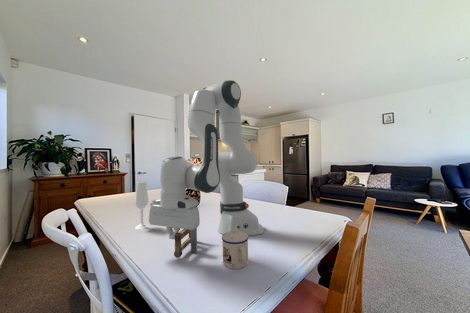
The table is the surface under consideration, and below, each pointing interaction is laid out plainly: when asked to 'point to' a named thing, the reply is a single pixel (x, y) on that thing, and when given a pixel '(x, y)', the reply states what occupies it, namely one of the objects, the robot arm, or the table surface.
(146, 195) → the champagne flute
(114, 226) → the table surface
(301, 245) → the table surface
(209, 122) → the robot arm
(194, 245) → the posts
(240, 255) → the teacup with lid
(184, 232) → the gate
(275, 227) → the table surface
